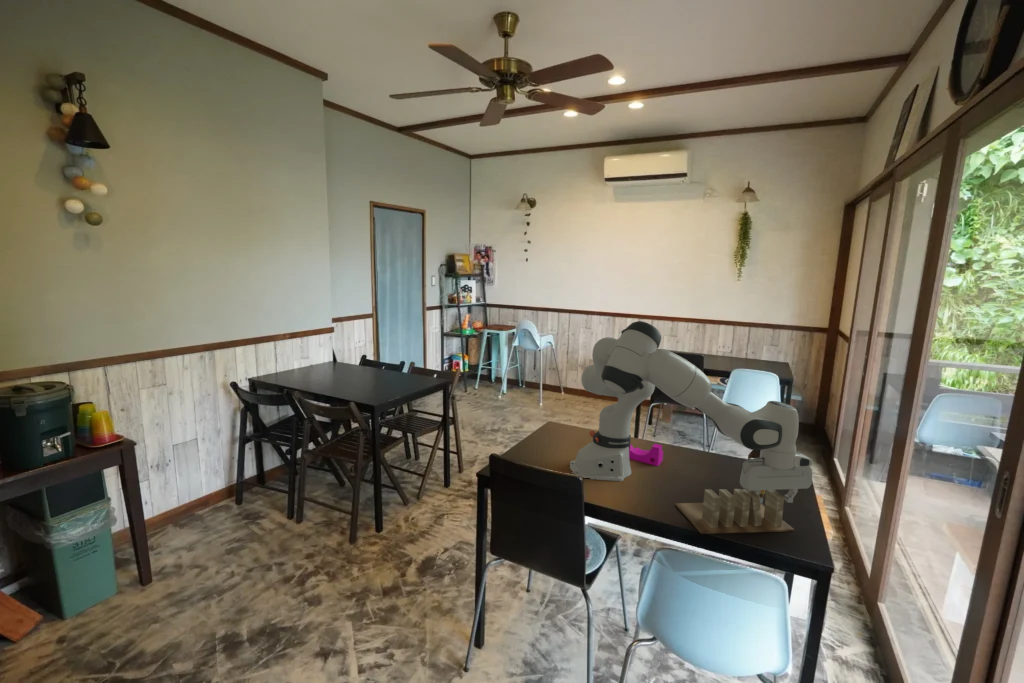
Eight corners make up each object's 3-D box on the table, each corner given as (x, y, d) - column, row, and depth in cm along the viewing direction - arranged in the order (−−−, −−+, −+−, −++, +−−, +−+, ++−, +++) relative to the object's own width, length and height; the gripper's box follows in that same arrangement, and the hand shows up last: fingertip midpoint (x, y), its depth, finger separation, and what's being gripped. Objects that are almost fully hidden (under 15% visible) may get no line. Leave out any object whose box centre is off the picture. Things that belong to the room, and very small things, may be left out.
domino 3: (740, 526, 131) (744, 497, 129) (730, 517, 136) (733, 489, 134) (747, 526, 131) (750, 497, 130) (737, 517, 136) (740, 488, 134)
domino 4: (755, 526, 131) (752, 497, 130) (745, 517, 136) (742, 489, 135) (762, 524, 131) (759, 496, 130) (751, 515, 136) (748, 488, 135)
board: (700, 533, 127) (701, 531, 127) (675, 505, 143) (675, 503, 143) (794, 531, 130) (794, 529, 130) (758, 503, 146) (759, 501, 146)
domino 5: (774, 526, 131) (777, 497, 130) (763, 517, 136) (766, 488, 135) (781, 526, 132) (784, 496, 130) (769, 517, 137) (772, 488, 135)
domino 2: (725, 527, 130) (729, 497, 129) (716, 517, 135) (719, 489, 134) (732, 526, 130) (735, 497, 129) (722, 517, 135) (725, 489, 134)
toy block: (662, 461, 177) (663, 443, 176) (657, 467, 172) (659, 448, 171) (625, 452, 186) (626, 434, 185) (619, 457, 181) (620, 439, 180)
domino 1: (710, 527, 130) (713, 497, 128) (701, 518, 135) (704, 489, 133) (717, 527, 130) (720, 497, 129) (708, 518, 135) (711, 489, 134)
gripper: (750, 462, 127) (746, 509, 129) (818, 460, 129) (813, 506, 131) (737, 454, 133) (733, 498, 135) (801, 452, 136) (797, 495, 137)
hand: (773, 502), depth 133 cm, fingers open, 8 cm apart
